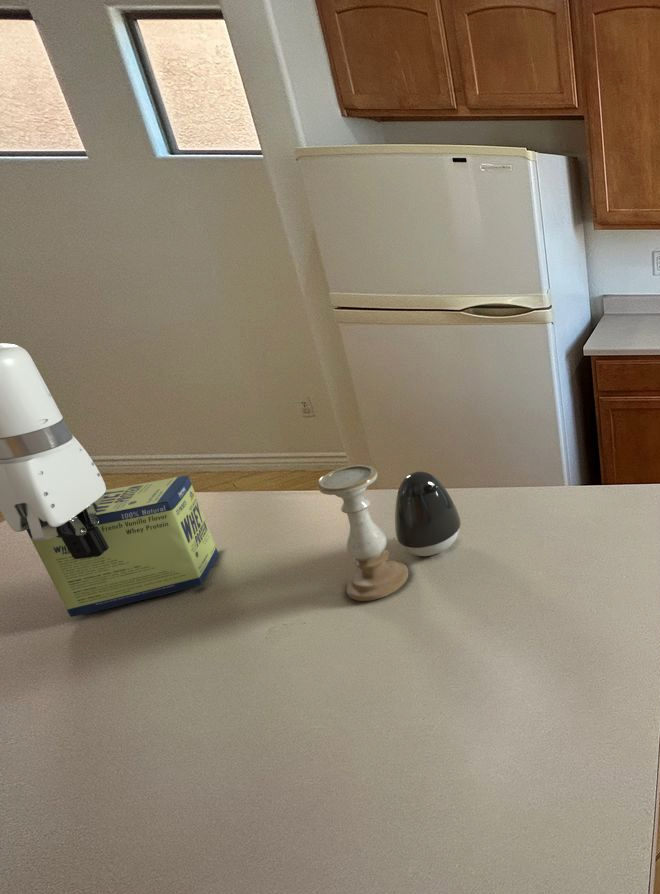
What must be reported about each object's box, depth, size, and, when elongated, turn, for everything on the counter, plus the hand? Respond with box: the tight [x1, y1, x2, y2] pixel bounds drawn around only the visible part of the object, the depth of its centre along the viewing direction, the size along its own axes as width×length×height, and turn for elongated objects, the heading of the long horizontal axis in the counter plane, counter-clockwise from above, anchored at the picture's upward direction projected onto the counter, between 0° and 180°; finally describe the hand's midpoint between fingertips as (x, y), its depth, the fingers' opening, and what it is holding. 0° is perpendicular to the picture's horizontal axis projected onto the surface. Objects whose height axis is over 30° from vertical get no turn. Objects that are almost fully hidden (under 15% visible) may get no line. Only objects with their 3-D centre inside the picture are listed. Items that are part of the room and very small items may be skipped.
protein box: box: [26, 474, 220, 618], centre depth 87 cm, size 10×16×16 cm
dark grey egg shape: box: [394, 470, 461, 557], centre depth 97 cm, size 10×10×15 cm
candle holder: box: [317, 464, 409, 602], centre depth 87 cm, size 9×9×20 cm
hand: (92, 553), depth 79 cm, fingers closed
